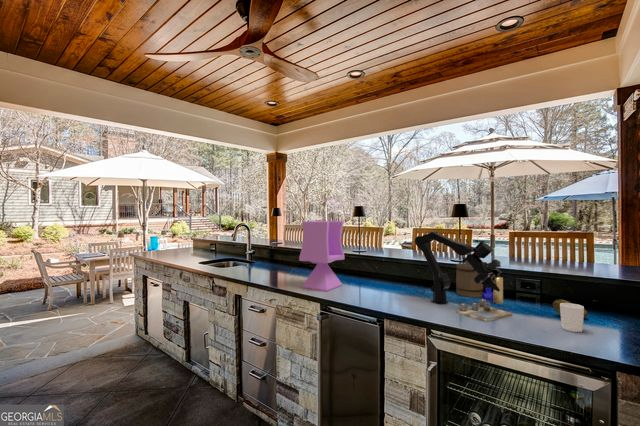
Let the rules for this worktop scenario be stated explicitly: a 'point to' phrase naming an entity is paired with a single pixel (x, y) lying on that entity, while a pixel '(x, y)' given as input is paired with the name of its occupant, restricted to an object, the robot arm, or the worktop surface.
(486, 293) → the cable clip
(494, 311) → the board
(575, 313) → the white cup
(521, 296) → the worktop surface
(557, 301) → the potato
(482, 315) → the grey flat square plate
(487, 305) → the short steel spacers
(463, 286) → the wooden container
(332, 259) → the purple pedestal chair
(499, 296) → the tall brass spacer
